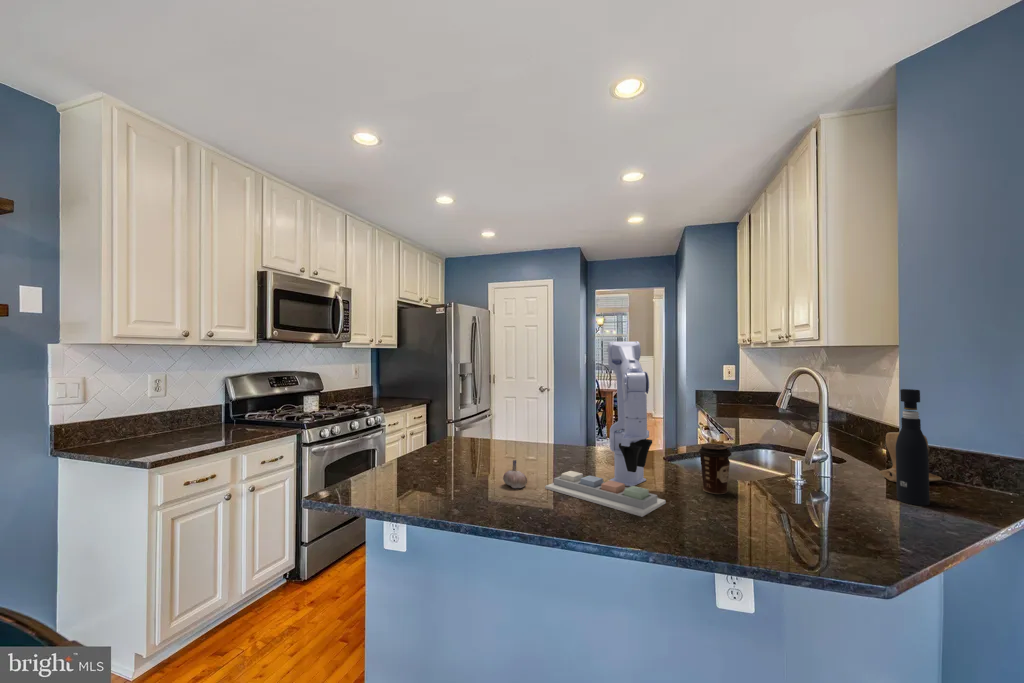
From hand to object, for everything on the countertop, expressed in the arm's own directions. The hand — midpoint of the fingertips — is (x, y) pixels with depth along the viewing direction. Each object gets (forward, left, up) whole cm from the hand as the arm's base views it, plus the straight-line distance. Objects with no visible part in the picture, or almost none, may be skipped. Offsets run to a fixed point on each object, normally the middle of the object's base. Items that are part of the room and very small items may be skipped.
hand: (636, 469), depth 112 cm
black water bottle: (-54, +52, -10) cm, 76 cm away
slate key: (0, -14, -7) cm, 16 cm away
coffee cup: (-26, +11, -10) cm, 30 cm away
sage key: (0, 0, -7) cm, 7 cm away
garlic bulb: (+11, -34, -10) cm, 37 cm away
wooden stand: (-79, +50, -10) cm, 94 cm away
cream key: (0, -21, -7) cm, 22 cm away
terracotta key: (0, -7, -7) cm, 10 cm away
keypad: (0, -11, -9) cm, 14 cm away
